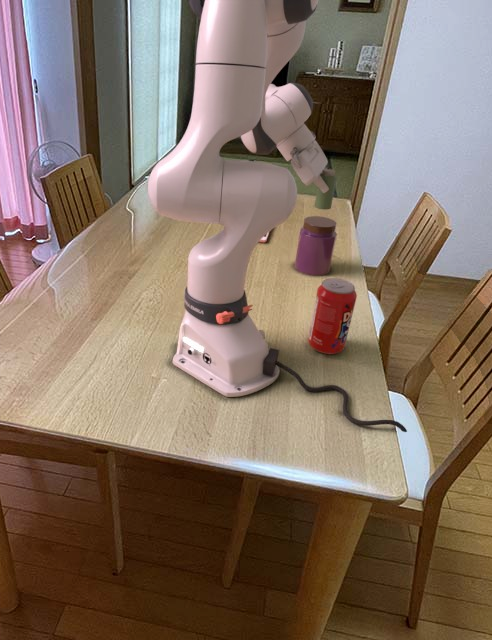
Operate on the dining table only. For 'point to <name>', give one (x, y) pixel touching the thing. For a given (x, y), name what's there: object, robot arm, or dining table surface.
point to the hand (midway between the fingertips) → (328, 188)
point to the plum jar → (316, 245)
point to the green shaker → (326, 198)
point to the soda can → (332, 315)
